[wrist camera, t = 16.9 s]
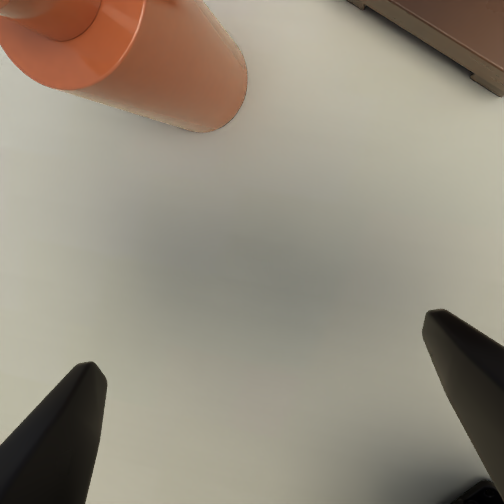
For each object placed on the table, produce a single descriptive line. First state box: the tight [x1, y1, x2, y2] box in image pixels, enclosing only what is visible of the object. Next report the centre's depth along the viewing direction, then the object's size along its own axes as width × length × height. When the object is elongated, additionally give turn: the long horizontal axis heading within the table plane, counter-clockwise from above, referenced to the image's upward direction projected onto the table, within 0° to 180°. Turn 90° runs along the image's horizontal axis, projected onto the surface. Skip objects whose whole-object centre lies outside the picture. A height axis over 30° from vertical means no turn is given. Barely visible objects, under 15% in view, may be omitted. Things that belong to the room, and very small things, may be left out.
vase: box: [0, 0, 247, 133], centre depth 13 cm, size 6×6×14 cm
